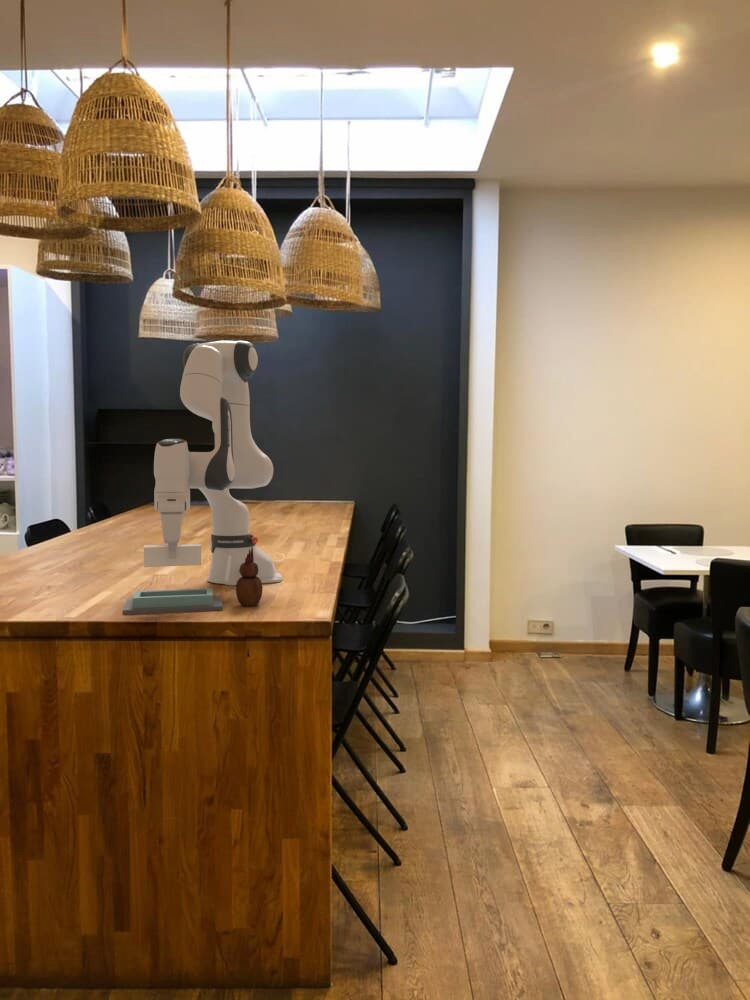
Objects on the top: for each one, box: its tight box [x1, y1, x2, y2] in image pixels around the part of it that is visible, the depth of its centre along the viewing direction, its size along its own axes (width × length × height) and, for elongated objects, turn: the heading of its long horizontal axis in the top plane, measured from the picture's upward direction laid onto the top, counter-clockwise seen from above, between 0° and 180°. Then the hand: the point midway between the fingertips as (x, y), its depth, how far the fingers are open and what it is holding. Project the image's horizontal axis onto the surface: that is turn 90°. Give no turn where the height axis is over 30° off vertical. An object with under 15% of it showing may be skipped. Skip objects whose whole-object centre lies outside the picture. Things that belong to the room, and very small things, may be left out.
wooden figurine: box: [235, 547, 263, 607], centre depth 197 cm, size 7×6×15 cm
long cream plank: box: [143, 543, 202, 568], centre depth 194 cm, size 14×4×5 cm, turn 105°
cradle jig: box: [122, 587, 223, 615], centre depth 195 cm, size 24×13×4 cm, turn 103°
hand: (173, 556), depth 194 cm, fingers closed on long cream plank, 4 cm apart
